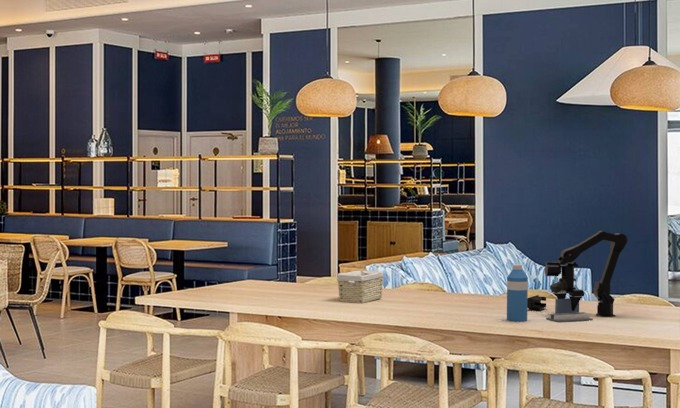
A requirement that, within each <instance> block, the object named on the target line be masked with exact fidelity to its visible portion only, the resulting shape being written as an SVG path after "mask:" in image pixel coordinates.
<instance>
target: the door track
mask: <svg viewBox="0 0 680 408" xmlns="http://www.w3.org/2000/svg"><path fill="white" fill-rule="evenodd" d="M548 316H549V317H545V319H546V320H548V321H551V322H554V323H555V322H556V323H571V322H573V323H575V322H589V320H593V318H590V313H589V312H582V311H581V312H580V311H579V312H577V313H558V314H555V313H549V315H548Z"/></svg>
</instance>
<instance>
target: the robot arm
mask: <svg viewBox="0 0 680 408" xmlns="http://www.w3.org/2000/svg"><path fill="white" fill-rule="evenodd" d="M628 239H629V238H628V237H627V236H626V234H623V233H619V232H618V233H617V232H616V233H610V232H607V231H604V230H598V231H597V232H596V233H594V234H593V235H591V236H590V237H588V238H586V239H584V240H583V241H581V242H579V243H578V244H575V245H573V246H570V247H567V248H565V249H562V250H561V252H560V255H559V257H558V259H557V260H556V261H546V262H545V267H544V274H545V277H559V276H560V275H561V276H560V278H559V279H558V281H557V282H554V283H553V284H551V285H549V288H550V290H551V293H553V295H554V296H556V299H567V295H569V296H568V299H569V298H570V299H571V308H572V311H574V310H575V308H576V306H577V304H578V303H579V304H580V301H581V300H582V299H583V297H584V296H585V291H584V290H583V289H578V288H577V287H575V282H576V281H577V280H576V279H577V278H575V268H579V265H578V264H577V262H576V261H575V260H576V259H578V258H579V257H580V255H582V253H584V252H585V251H587V250H588V249H590V248H592V247H593V246H595V245H597V244H598V243H600V242H602V241H607V242H610V244H609V245H610V247H609V248H610V251H609V254H608V257H607V260H606V263H605V266H604V270H603V272H602V276H601V278H600V280H598V281H595V282H594V287H593V288H592V290H593V295H594V297H595V298H596V299H597V303H598V304H597V308H596V309H597V312H596V313H595V316H601V317H615V316H616V315H615V314H614V302H615V298H614V296H612V295H611V281H612V278H613V277H614V276H613V275H614V272H615V270H616V267H617V264H618V260H619V257H620V254H621V253H622V252H623V250H624V249H625V248H626V246H627V243H628ZM576 288H577V289H576Z"/></svg>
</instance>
